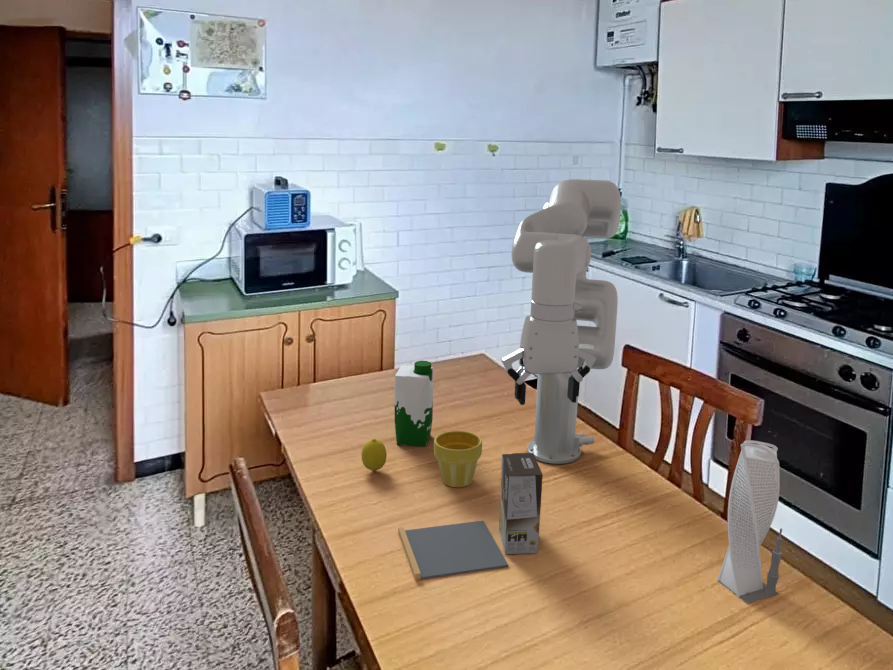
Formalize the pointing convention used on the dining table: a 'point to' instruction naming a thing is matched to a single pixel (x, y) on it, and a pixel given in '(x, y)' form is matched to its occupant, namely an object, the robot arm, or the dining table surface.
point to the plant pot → (457, 456)
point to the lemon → (374, 455)
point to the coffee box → (520, 503)
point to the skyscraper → (752, 523)
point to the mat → (451, 549)
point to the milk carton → (414, 404)
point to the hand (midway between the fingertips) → (546, 401)
